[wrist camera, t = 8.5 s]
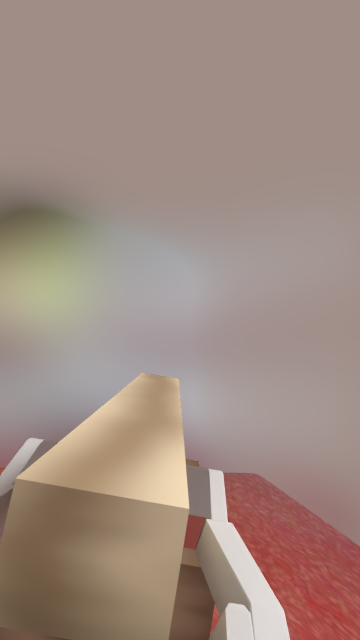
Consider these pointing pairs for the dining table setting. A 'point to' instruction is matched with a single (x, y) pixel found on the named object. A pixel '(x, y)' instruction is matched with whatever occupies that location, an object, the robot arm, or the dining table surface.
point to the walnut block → (189, 603)
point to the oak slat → (101, 524)
